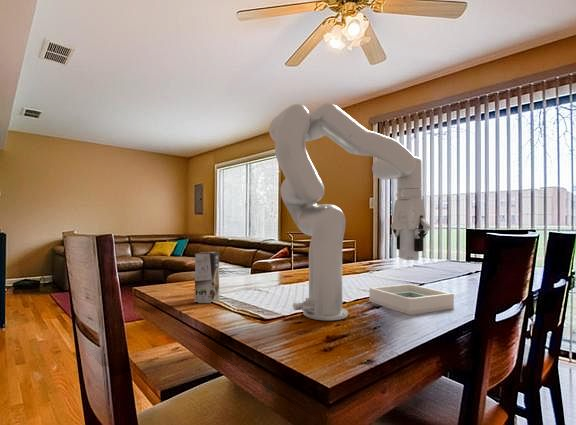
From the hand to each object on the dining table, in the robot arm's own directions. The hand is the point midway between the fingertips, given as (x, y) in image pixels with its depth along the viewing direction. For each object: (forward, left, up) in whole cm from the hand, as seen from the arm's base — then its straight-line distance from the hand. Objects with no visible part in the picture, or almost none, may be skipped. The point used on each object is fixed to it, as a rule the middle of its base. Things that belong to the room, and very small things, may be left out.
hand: (409, 249), depth 109 cm
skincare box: (0, 0, -3) cm, 3 cm away
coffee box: (-58, +33, -18) cm, 69 cm away
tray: (0, 0, -18) cm, 18 cm away
